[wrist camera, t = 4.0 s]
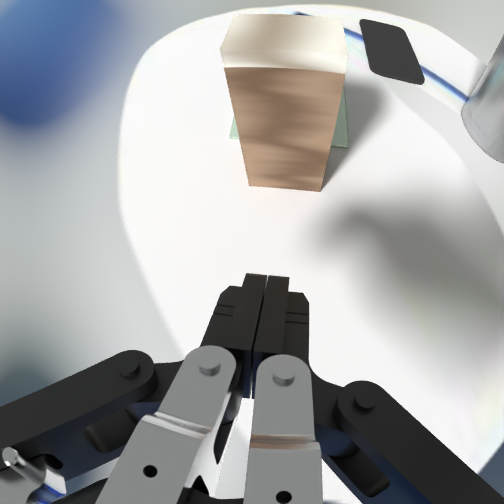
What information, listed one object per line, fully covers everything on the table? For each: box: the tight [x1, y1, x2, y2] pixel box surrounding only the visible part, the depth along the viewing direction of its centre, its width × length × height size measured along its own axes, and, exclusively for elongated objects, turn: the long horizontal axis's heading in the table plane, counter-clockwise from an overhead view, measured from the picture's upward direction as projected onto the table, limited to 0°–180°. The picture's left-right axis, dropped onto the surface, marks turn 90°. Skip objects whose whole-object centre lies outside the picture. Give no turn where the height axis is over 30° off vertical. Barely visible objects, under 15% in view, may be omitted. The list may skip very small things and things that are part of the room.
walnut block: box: [220, 14, 349, 192], centre depth 18 cm, size 6×4×14 cm, turn 83°
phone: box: [360, 19, 425, 85], centre depth 30 cm, size 7×1×15 cm
